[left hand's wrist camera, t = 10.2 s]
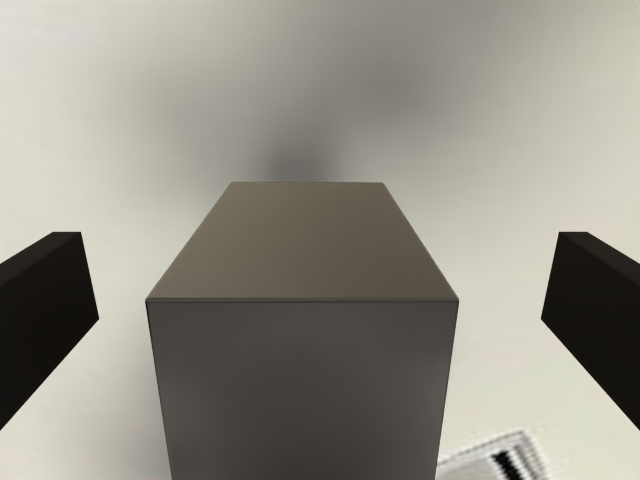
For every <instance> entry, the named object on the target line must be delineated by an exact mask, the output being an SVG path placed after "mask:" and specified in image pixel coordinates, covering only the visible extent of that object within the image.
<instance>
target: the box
mask: <svg viewBox="0 0 640 480" xmlns="http://www.w3.org/2000/svg"><path fill="white" fill-rule="evenodd" d="M145 304H146V310H147V317H148V323H149V330H150V337H151V343H152V350H153V357H154V363H155V370H156V376H157V383H158V390H159V396H160V403H161V410H162V416H163V423H164V429H165V436H166V443H167V449H168V456H169V463H170V469H171V476H172V480H435V473H436V466H437V459H438V452H439V444H440V437H441V430H442V423H443V415H444V408H445V401H446V393H447V386H448V379H449V372H450V364H451V357H452V350H453V343H454V335H455V328H456V321H457V313H458V306H459V298H458V297H457V295H456V294H455V292H454V291H453V289H452V288H451V286H450V285H449V283H448V281H447V280H446V278H445V277H444V275H443V274H442V272H441V271H440V269H439V268H438V266H437V265H436V263H435V262H434V260H433V258H432V257H431V255H430V254H429V252H428V251H427V249H426V248H425V246H424V245H423V243H422V242H421V240H420V239H419V237H418V236H417V234H416V232H415V231H414V229H413V228H412V226H411V225H410V223H409V222H408V220H407V219H406V217H405V216H404V214H403V213H402V211H401V209H400V208H399V206H398V205H397V203H396V202H395V200H394V199H393V197H392V196H391V194H390V193H389V191H388V190H387V188H386V186H385V185H384V183H365V182H231V184H230V185H229V187H228V188H227V189H226V191H225V192H224V193H223V195H222V196H221V197H220V199H219V200H218V201H217V203H216V204H215V206H214V207H213V208H212V210H211V211H210V212H209V214H208V215H207V216H206V218H205V219H204V220H203V222H202V223H201V225H200V226H199V227H198V229H197V230H196V231H195V233H194V234H193V235H192V237H191V238H190V239H189V241H188V242H187V243H186V245H185V246H184V248H183V249H182V250H181V252H180V253H179V254H178V256H177V257H176V258H175V260H174V261H173V262H172V264H171V265H170V267H169V268H168V269H167V271H166V272H165V273H164V275H163V276H162V277H161V279H160V280H159V281H158V283H157V284H156V286H155V287H154V288H153V290H152V291H151V292H150V294H149V295H148V296H147V298H146V300H145Z"/></svg>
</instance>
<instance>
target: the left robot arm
mask: <svg viewBox="0 0 640 480" xmlns="http://www.w3.org/2000/svg"><path fill="white" fill-rule="evenodd" d="M98 320H99V315H98V310H97V306H96V301H95V296H94V292H93V287H92V282H91V277H90V273H89V268H88V263H87V258H86V254H85V249H84V244H83V239H82V235H81V232H52V233H50V234H49V235H47V236H45V237H44V238H42V239H40V240H39V241H37V242H35V243H34V244H32V245H30V246H29V247H27V248H26V249H24V250H22V251H21V252H19V253H17V254H16V255H14V256H12V257H11V258H9V259H7V260H6V261H4V262H2V263H1V264H0V430H1V429H2V428H3V427H4V426H5V425H6V424H7V422H8V421H9V420H10V419H11V418H12V417H13V416H14V415H15V413H16V412H17V411H18V410H19V409H20V408H21V407H22V406H23V404H24V403H25V402H26V401H27V400H28V399H29V398H30V397H31V395H32V394H33V393H34V392H35V391H36V390H37V389H38V387H39V386H40V385H41V384H42V383H43V382H44V381H45V380H46V378H47V377H48V376H49V375H50V374H51V373H52V372H53V371H54V369H55V368H56V367H57V366H58V365H59V364H60V363H61V362H62V360H63V359H64V358H65V357H66V356H67V355H68V354H69V352H70V351H71V350H72V349H73V348H74V347H75V346H76V345H77V343H78V342H79V341H80V340H81V339H82V338H83V337H84V336H85V334H86V333H87V332H88V331H89V330H90V329H91V328H92V327H93V325H94V324H95V323H96V322H97V321H98ZM541 320H542V321H543V322H544V323H545V324H546V325H547V327H548V328H549V329H550V330H551V331H552V332H553V333H554V334H555V336H556V337H557V338H558V339H559V340H560V341H561V342H562V343H563V345H564V346H565V347H566V348H567V349H568V350H569V351H570V352H571V354H572V355H573V356H574V357H575V358H576V359H577V360H578V362H579V363H580V364H581V365H582V366H583V367H584V368H585V369H586V371H587V372H588V373H589V374H590V375H591V376H592V377H593V378H594V380H595V381H596V382H597V383H598V384H599V385H600V386H601V387H602V389H603V390H604V391H605V392H606V393H607V394H608V395H609V397H610V398H611V399H612V400H613V401H614V402H615V403H616V404H617V406H618V407H619V408H620V409H621V410H622V411H623V412H624V413H625V415H626V416H627V417H628V418H629V419H630V420H631V421H632V422H633V424H634V425H635V426H636V427H637V428H638V429H639V430H640V264H639V263H638V262H636V261H634V260H633V259H631V258H629V257H628V256H626V255H624V254H623V253H621V252H619V251H618V250H616V249H614V248H613V247H611V246H610V245H608V244H606V243H605V242H603V241H601V240H600V239H598V238H596V237H595V236H593V235H591V234H590V233H588V232H559V235H558V239H557V244H556V249H555V254H554V258H553V263H552V268H551V273H550V277H549V282H548V287H547V292H546V296H545V301H544V306H543V310H542V315H541Z"/></svg>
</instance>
